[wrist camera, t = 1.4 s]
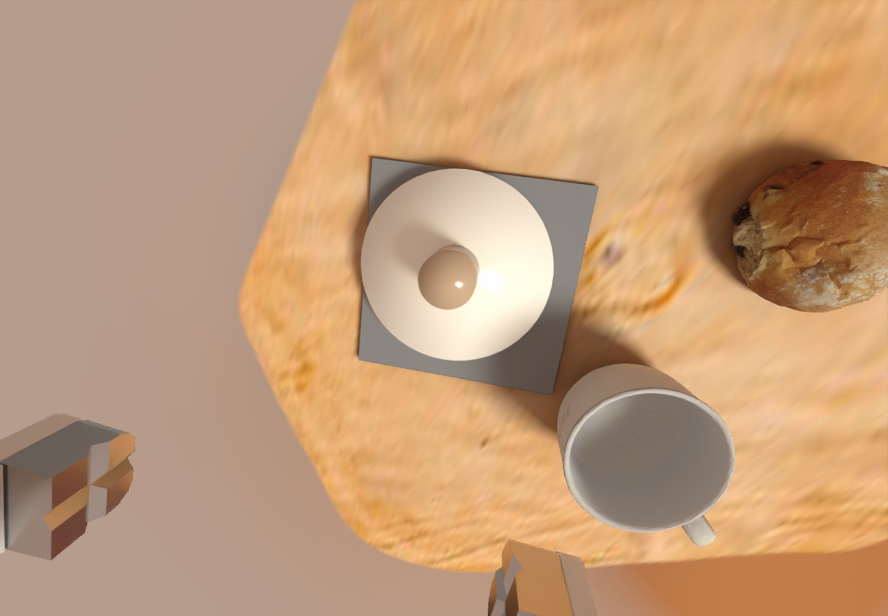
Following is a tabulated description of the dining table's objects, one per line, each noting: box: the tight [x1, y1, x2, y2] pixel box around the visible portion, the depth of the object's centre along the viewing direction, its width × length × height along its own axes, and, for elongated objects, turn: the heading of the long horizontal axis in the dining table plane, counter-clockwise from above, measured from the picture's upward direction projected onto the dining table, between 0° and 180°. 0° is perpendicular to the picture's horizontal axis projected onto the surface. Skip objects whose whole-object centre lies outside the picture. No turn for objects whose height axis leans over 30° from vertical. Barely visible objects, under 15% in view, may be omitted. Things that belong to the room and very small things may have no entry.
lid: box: [361, 169, 554, 361], centre depth 31 cm, size 15×15×5 cm
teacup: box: [557, 363, 735, 546], centre depth 31 cm, size 14×11×8 cm
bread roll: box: [731, 160, 888, 312], centre depth 27 cm, size 10×10×8 cm
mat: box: [359, 158, 599, 395], centre depth 34 cm, size 17×17×1 cm
